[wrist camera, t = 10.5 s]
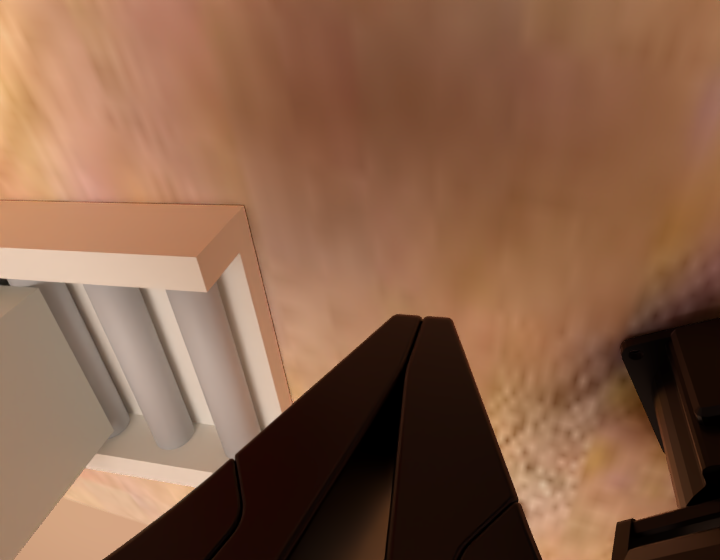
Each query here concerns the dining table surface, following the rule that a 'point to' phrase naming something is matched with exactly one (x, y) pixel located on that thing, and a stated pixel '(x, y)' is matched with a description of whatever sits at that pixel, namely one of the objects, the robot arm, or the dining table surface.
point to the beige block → (39, 416)
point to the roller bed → (156, 325)
